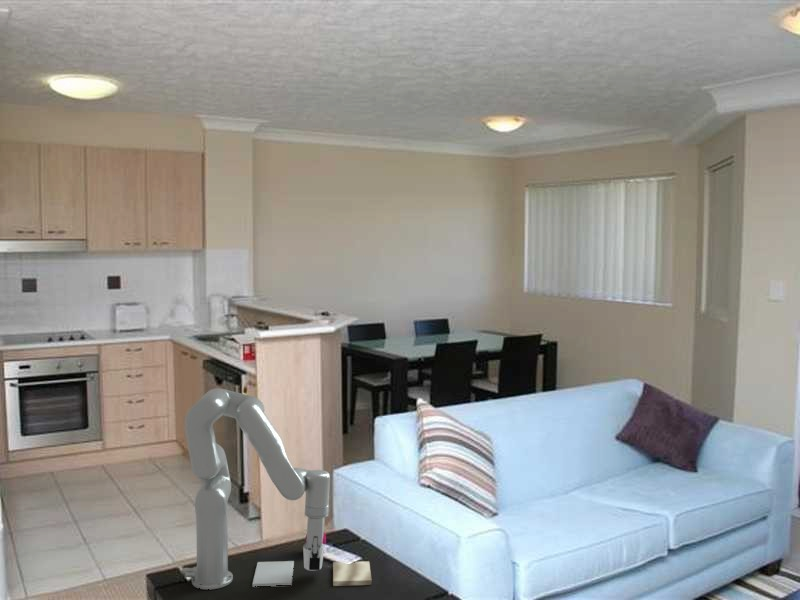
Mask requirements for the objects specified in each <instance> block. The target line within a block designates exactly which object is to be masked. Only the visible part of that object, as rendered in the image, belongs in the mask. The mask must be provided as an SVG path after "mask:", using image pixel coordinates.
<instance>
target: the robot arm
mask: <svg viewBox="0 0 800 600" xmlns="http://www.w3.org/2000/svg"><path fill="white" fill-rule="evenodd" d="M223 416H224V417H228V418H232V419H235V421H236V423H237V425H238V426H239V427H240V429H241V431H242V432H243V434H244V435H245V437H246V438H247V439H248V441H249V443H250V445H252V447H253V448H254V451H255V452H256V454H257V455H258V457H259V460H260V462H261V463H262V466H263V467H264V470H265V471H266V472H267V475H268V477H269V478H270V480H271V481H272V483H273V485H274V486H275V488H277V491H278V492H279V493H280V495H281V496H282V497H283V498H285V500H287V501H288V500H289V501H296V500H299V499H300V498H302V497H303V495H304V493H305V502H304V506H305V507H304V516H305V517H307V524H306V534H307V544H306V548H307V549H308V548H311V557H310V562H309V569H310V570H316V571H318V570H319V571H320V569H319V567H320V557H319V549H321V548H322V542H323V534H324V533H325V531H324V530H325V518H327V517H328V516H329V511H330V490H331V488H330V487H331V486H330V485H331V476H330V473H329V471H326V470H324V469H323V470H322V469H313V470H311V469H306V468H305V469H303V468H300V467H293V466H292V463H291V462H290V461H289V459H288V457H287V453H286V451H285V445H284V442H283V440H282V437H281V436H280V435H279V434H278V432H277V430H276V428H275V427H274V426H273V424H272V422H271V421H270V420H269V418H268V417H267V414H266V413H265V405H264V403H263V402H262V400H261V399H259V398H258V397H255V396H252V395H249V394H246V393H242V392H241V393H240V392H237V391H233V390H229V389H225V388H219V387H217V388H216V387H215V388H211V389H209V390H208V391H207V392H206V393H205V394H203V395H202V397H200V399H198V400H197V401H196V402H195V403H194V404H193V405H192V406H191V407H190V408H189V410H187V413H186V415H185V419H184V432H185V437H186V443H187V449H188V454H189V460H190V467H191V471H192V473H193V475H194V476H195V477H196V479H199V480H200V487H199V489H198V490H197V493H196V495H195V499H194V500H195V501H194V510H195V522H196V528H195V529H196V530H195V531H196V566H193V567H183V568H182V575H184V577H185V578H190V577H192V578H191V584H192V586H193V587H194V588H196V589H199V588H200V590H208V589H209V590H216V589H221V588H224V587H226V586H228V585H230V584H231V583H232V582H233V579H234V575H233V573H232V572H231V571H229V560H228V559H229V555H228V554H229V553H228V552H229V551H228V550H229V549H228V548H229V543H228V542H229V539H228V537H229V536H228V535H229V534H228V533H229V530H228V524H229V523H228V521H229V520H228V500H229V498H230V495H231V492H232V482H231V476H230V470H229V465H228V460H227V456H226V452H225V450H224V448H223V447H222V446H221V445H220V444H218V443H217V440H216V434H215V430H214V426H213V425H214V423H215V422H216V421H218V420H219V419H220V418H222V417H223ZM318 544H319V546H318ZM312 546H313V547H312ZM317 546H318V547H317ZM312 550H313V551H312ZM317 550H318V552H317ZM317 555H318V556H317ZM310 570H309V571H310ZM209 590H208V591H209Z"/></svg>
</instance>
